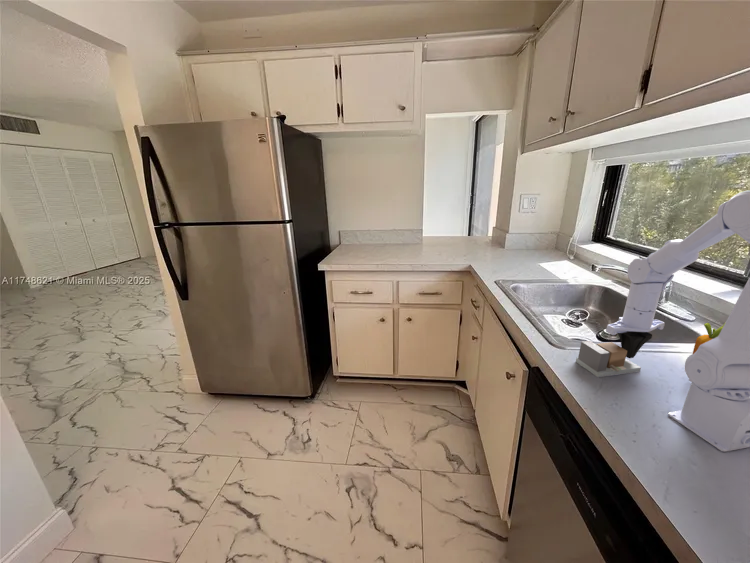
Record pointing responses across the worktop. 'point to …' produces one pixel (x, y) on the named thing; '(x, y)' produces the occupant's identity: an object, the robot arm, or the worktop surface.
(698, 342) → the carrot
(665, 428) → the worktop surface
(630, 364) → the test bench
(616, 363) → the block
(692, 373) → the robot arm
